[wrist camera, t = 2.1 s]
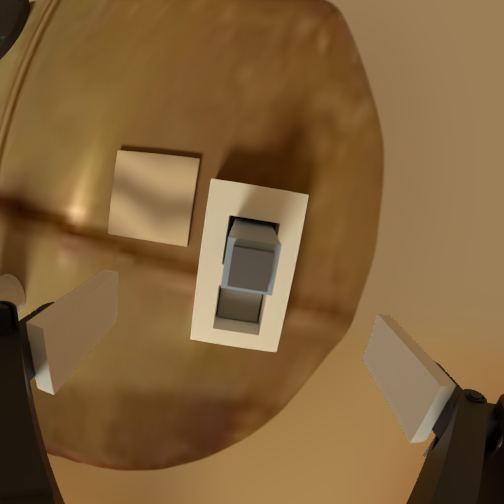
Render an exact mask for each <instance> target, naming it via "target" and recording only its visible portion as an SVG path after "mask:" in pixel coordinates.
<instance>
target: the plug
mask: <svg viewBox="0 0 504 504" xmlns="http://www.w3.org/2000/svg"><path fill="white" fill-rule="evenodd" d="M281 246H282V245H281V243H280V241H279V239H278V237H277V235H276V233H275V231H274V229H273V227H272V225H271V224H269V223H263V222H257V221H251V220H244V219H238V218H236V219H235V221H234V224H233V226H232V229H231V231H230V234H229V236H228V241H227V248H226V254H225V261H224V267H223V274H222V281H221V288H225V289H231V290H238V291H244V292H250V293H257V294H263V295H270V296H272V293H273V288H274V282H275V277H276V272H277V267H278V262H279V256H280V251H281Z"/></svg>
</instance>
